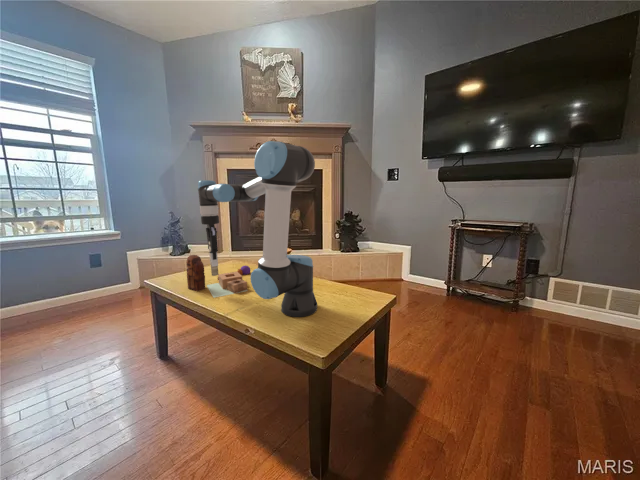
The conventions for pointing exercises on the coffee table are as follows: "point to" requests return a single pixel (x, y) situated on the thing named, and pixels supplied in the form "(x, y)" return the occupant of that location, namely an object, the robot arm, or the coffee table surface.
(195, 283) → the wooden figurine
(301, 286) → the robot arm
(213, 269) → the grey banded cylinder
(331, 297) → the coffee table surface
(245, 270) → the kendama
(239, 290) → the brown holed brick
